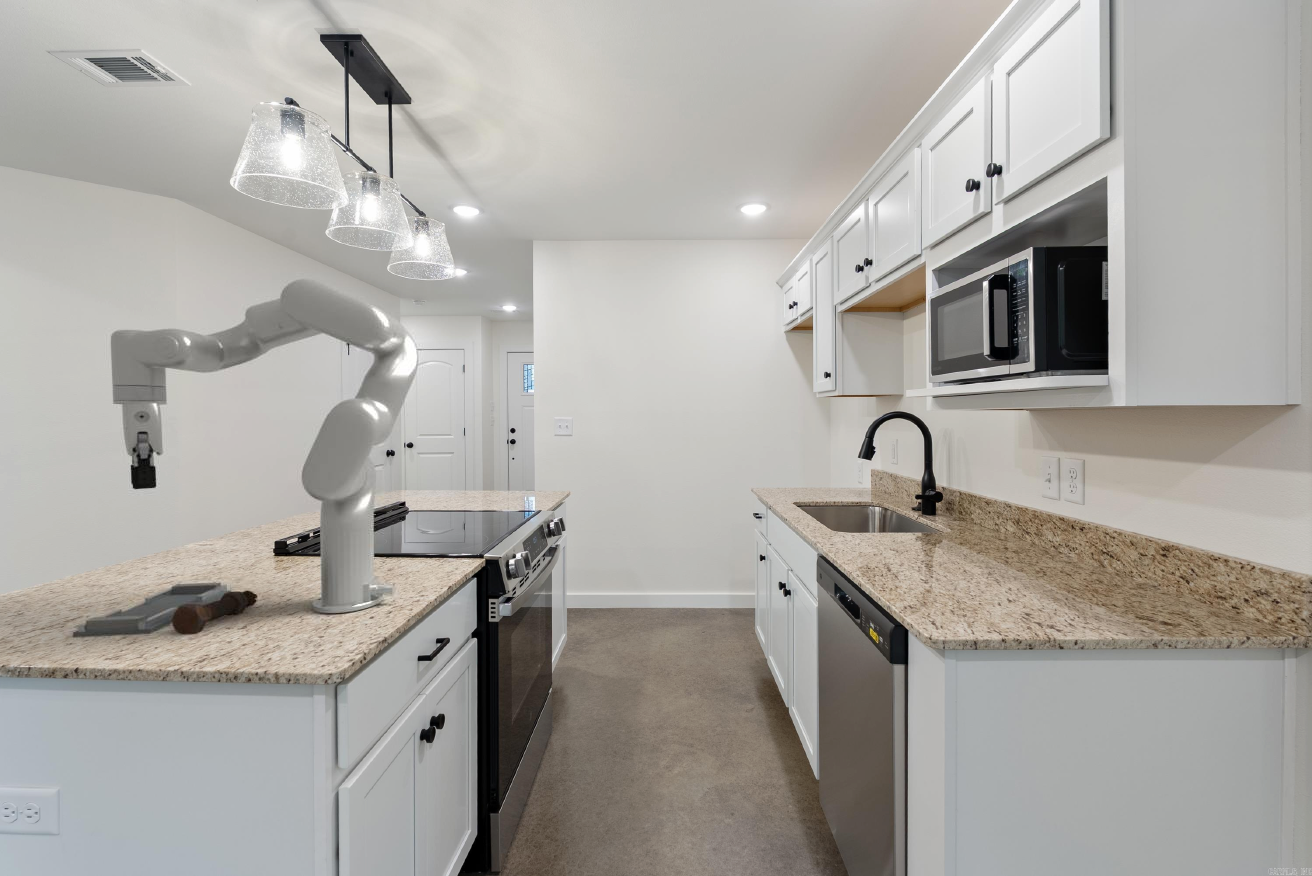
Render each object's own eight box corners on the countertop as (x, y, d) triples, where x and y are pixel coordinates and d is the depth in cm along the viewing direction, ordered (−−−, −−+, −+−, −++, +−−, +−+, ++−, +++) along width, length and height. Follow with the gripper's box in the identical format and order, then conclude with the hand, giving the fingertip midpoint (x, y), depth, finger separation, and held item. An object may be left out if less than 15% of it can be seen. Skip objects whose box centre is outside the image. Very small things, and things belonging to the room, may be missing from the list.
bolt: (254, 616, 113) (189, 642, 98) (233, 603, 114) (165, 627, 99) (268, 591, 113) (205, 613, 98) (247, 578, 113) (181, 599, 98)
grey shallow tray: (226, 590, 121) (226, 581, 121) (144, 629, 99) (144, 618, 98) (173, 592, 120) (173, 583, 120) (78, 632, 97) (77, 621, 97)
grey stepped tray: (231, 593, 121) (231, 590, 121) (150, 633, 99) (149, 628, 99) (169, 596, 120) (169, 592, 120) (73, 636, 97) (72, 632, 97)
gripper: (169, 395, 103) (173, 488, 103) (163, 398, 115) (166, 481, 116) (112, 394, 98) (116, 492, 98) (112, 397, 110) (116, 484, 111)
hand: (143, 486), depth 107 cm, fingers open, 9 cm apart
